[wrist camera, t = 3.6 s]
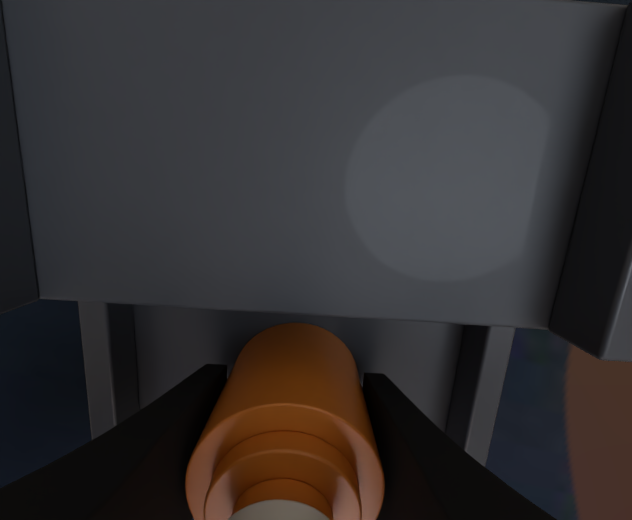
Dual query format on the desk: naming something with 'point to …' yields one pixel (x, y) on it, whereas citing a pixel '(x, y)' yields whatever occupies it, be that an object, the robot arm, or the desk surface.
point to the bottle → (288, 435)
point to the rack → (319, 185)
